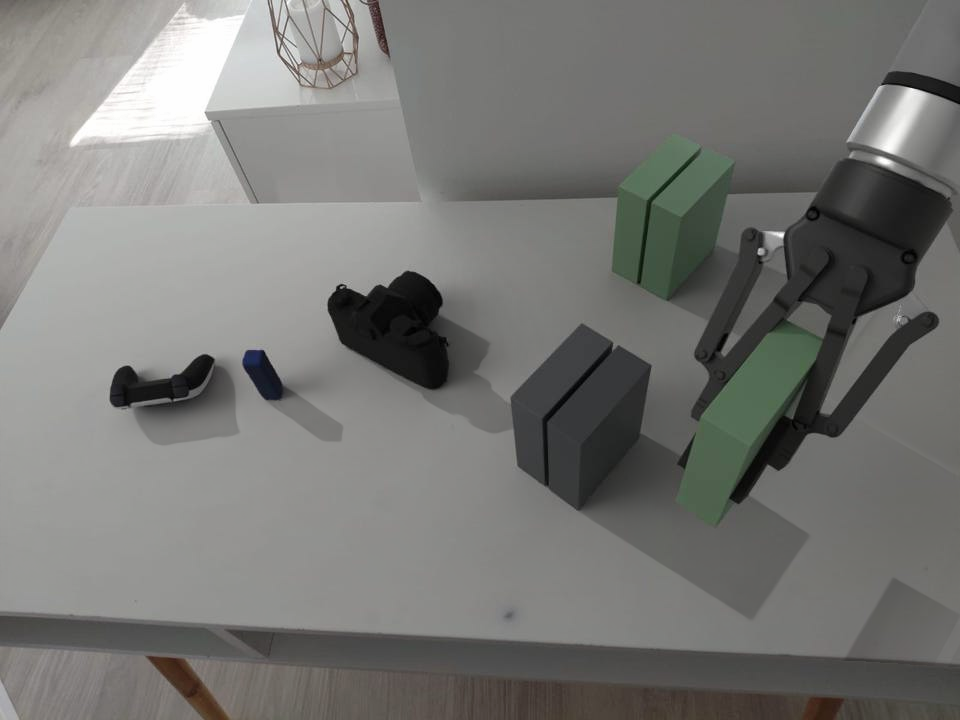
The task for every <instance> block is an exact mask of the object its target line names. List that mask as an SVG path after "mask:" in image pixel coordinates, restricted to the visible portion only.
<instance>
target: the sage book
mask: <svg viewBox="0 0 960 720" xmlns="http://www.w3.org/2000/svg"><path fill="white" fill-rule="evenodd" d="M823 339H824V338H822V337H820V336H818V335H816V334H815V333H814V332H813V333H812V332H810V331H809V330H807V329H804V328H803V327H802V326H799V325H797V324H795V323H793V322H791V321H790V320H788V319H787V320H786V319H784V320H783V321H782V322H780V323H779V324H778V325H777V326H776V327H775V328H774V329H773V330H772V331H771V332H770V333H768V334H767V335H766V336H765V337H764V339H763V340H762V341H761V342H760V343H759V345H758V346H757V347H756V348H755V350H754V351H753V352H752V353H751V355H750V356H749V357H748V358H747V360H746V361H745V362H744V363H743V365H742V366H741V367H740V368H739V370H738V371H737V372H736V373H735V374H734V376H733V377H732V378H731V379H730V381H729V382H728V383H727V384H726V386H725V387H724V388H723V389H722V391H721V392H720V393H719V394H718V396H717V397H716V398H715V399H714V401H713V402H712V403H711V404H710V405H709V407H708V408H707V409H706V410H705V412H704V413H703V414H702V415H701V418H700V421H699V422H698V424H697V429H696V430H695V433H696V435H695V438H694V442H693V445H692V448H691V452H690V455H689V458H688V462H687V465H686V468H685V469H684V472H683V475H682V479H681V482H680V486H679V489H678V493H677V496H676V498H675V499H676V500H675V502H676V503H677V504H678V505H680V506H682V507H683V508H684V509H686V510H688V511H689V512H690V513H692V514H693V515H695V516H696V517H698V518H699V519H700V520H702V521H704V522H705V523H706V524H708V525H710V526H711V527H712V528H714V529H716V528H717V527H718V526H719V525H720V523H722V521H723V519H724V518H725V516H726V515H727V514H728V512H730V510H731V508H732V507H733V505H734V504H736V503H735V502H734V501H732V500H731V499H729V498H730V496H731V495H732V493H733V491H734V490H735V488H736V487H737V485H738V483H739V482H740V480H741V479H742V477H743V476H744V474H745V472H746V471H747V469H748V468H749V466H750V464H751V463H752V461H753V460H754V458H755V456H756V455H757V453H758V452H759V450H760V448H761V447H762V445H763V444H764V442H765V440H766V439H767V437H768V436H769V434H770V432H771V431H772V429H773V428H774V426H775V424H776V423H777V421H778V420H780V419H781V418H783V417H784V416H787V417H788V418H790V419H793V416H794V414H795V411H796V409H797V406H798V403H799V401H800V398H801V396H802V393H803V391H804V388H805V385H806V383H807V380H808V378H809V375H810V373H811V370H812V367H813V365H814V363H815V361H816V357H817V355H818V352H819V349H820V347H821V344H822V342H823Z"/></svg>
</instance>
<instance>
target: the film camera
mask: <svg viewBox="0 0 960 720" xmlns="http://www.w3.org/2000/svg"><path fill="white" fill-rule="evenodd" d="M341 287H342V288H341ZM326 305H327V313H328V315H329V316H330V319H331V321H332V324H333V327H334V329H335V331H336V334H337V336H338V340H339V342H340V343H341V345H344V346H345V347H346V348H347V349H350V350H353V351H354V352H356V353H357V354H359V355H361V356H363V357H364V358H366V359H368V360H370V361H372V362H374V363H376V364H378V365H379V366H381V367H382V368H384V369H386V370H389V371H390V372H392V373H394V374H396V375H398V376H400V377H401V378H404V380H407V381H409V382H412V383H413V384H416V385H417V386H420V387H422V388H423V389H424V388H425V389H427V390H436V389H439V388H441V387H442V386H444V384H445V383H446V382H447V380H448V375H449V367H450V361H449V353H448V350H447V348H449V347H450V343H449V342H448V337H446V336H442V335H439V333H438V332H437V330H434V329H431V328H430V324H431V323H432V322H433V321H435V319H436V318H437V316H439V313H440V309H441V308H442V307H443V305H444V300H443V296H442V294H441V292H440V291H439V290H438V288H437V287H436V285H435V284H434V283H433V282H432V281H431V280H430V279H428V277H426V276H424V275H422V274H420V273H418V272H416V271H411V270H405V271H404V272H403V273H401V275H398V276H397V277H395V278H394V279H393V280H392V281H391V282H390V283H389V285H388V286H387V287H386V286H384V285H382V284H377V285H374V287H373V288H372V289H371V290H370V292H368V294H367V295H364V294H362V293H360V292H358V291H355V290H354V289H352V288H349V287H348V285H347V284H344V283H340V284H337V286H335V290H334V291H333V292H332V293H331V295H330V296H329V298H328V299H327V303H326Z"/></svg>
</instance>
